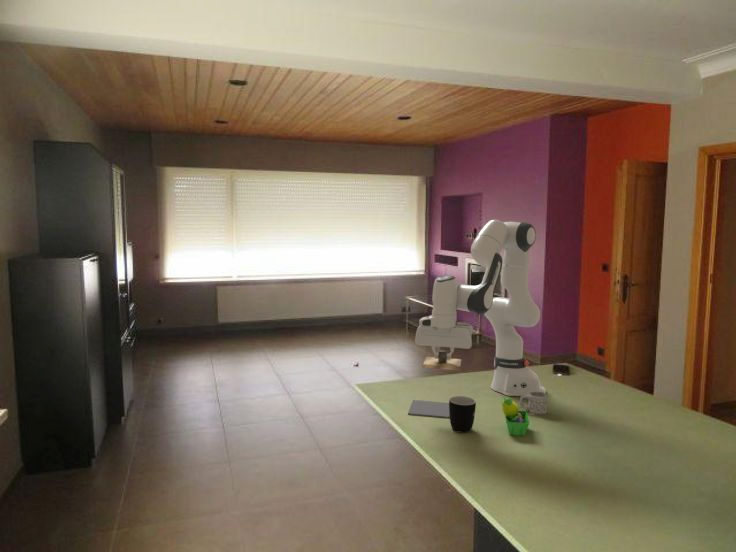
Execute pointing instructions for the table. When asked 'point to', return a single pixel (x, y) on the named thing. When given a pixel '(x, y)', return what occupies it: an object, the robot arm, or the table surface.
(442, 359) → the lid
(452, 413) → the mug
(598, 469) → the table surface
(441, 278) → the robot arm
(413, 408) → the mat
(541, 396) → the mug
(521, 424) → the fruit basket
